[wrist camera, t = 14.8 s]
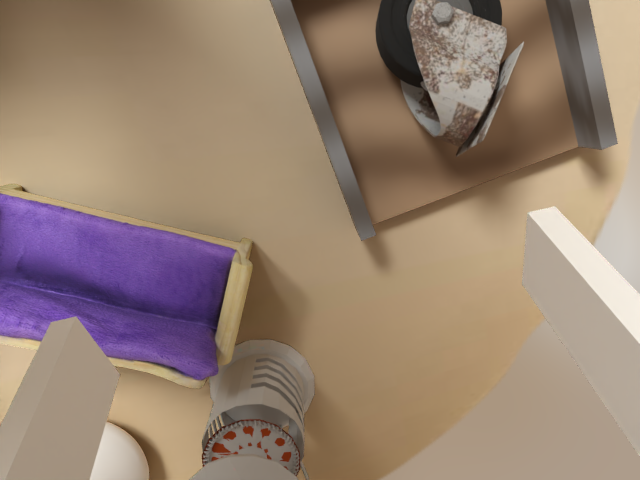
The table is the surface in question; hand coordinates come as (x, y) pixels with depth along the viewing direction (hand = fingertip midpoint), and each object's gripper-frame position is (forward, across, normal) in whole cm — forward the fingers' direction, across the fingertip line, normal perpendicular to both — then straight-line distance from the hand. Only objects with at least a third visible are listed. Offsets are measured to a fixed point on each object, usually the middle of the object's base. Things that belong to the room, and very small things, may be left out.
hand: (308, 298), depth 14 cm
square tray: (+26, +11, -3) cm, 29 cm away
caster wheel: (+25, +11, -2) cm, 28 cm away
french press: (+17, -8, -27) cm, 33 cm away
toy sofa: (+23, -16, -12) cm, 31 cm away
